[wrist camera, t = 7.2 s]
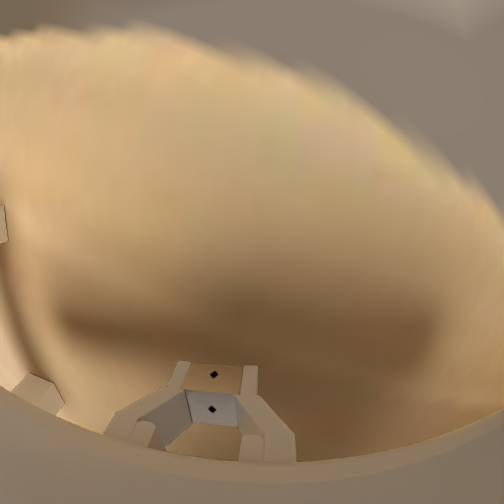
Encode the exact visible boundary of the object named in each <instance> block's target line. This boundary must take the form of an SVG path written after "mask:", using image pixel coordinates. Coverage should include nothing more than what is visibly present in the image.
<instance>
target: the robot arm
mask: <svg viewBox="0 0 504 504" xmlns="http://www.w3.org/2000/svg"><path fill="white" fill-rule="evenodd" d="M192 422H194V423H204V424H216V425H224V426H235V427H237V428H238V429H239V431H240V433H241V434H242V436H243V437H241V443H240V450H239V457H238V461H227V460H217V459H208V458H200V457H193V456H187V455H181V454H176V453H170V452H167V451H166V449H165V447H166V446H167V445H168V444H169V443H170V442H172V441H173V440H174V439H175V438H176V437H178V436H179V435H180V434H181V433H182V432H183V431H184V430H186V429H187V428H188V427H189V426H190V425H191V424H192ZM0 504H504V408H501V409H500V410H498V411H496V412H494V413H492V414H490V415H488V416H486V417H484V418H482V419H480V420H477V421H475V422H473V423H471V424H468V425H466V426H463V427H461V428H458V429H456V430H453V431H451V432H448V433H445V434H442V435H439V436H436V437H433V438H430V439H427V440H424V441H421V442H417V443H414V444H410V445H406V446H403V447H399V448H394V449H390V450H386V451H381V452H376V453H371V454H366V455H360V456H353V457H347V458H339V459H330V460H320V461H306V462H296V446H295V434H294V433H293V432H292V431H291V430H290V429H289V427H288V426H287V425H286V424H285V423H284V422H283V421H282V420H281V419H280V418H279V417H278V415H277V414H276V413H275V412H274V411H273V410H272V409H271V408H270V406H269V405H268V404H267V403H266V402H265V401H264V400H263V398H262V397H261V396H260V395H258V366H255V365H244V366H238V365H218V364H208V363H199V362H188V361H179V362H178V363H177V365H176V367H175V369H174V371H173V373H172V376H171V378H170V380H169V382H168V384H167V386H166V387H161V388H159V389H158V390H156V391H154V392H152V393H151V394H149V395H147V396H145V397H144V398H142V399H140V400H138V401H136V402H134V403H133V404H131V405H129V406H127V407H125V408H123V409H121V410H120V411H118V412H116V413H115V414H114V416H113V418H112V419H111V421H110V423H109V425H108V426H107V428H106V430H105V432H104V433H103V434H100V433H97V432H94V431H92V430H89V429H86V428H84V427H81V426H79V425H76V424H74V423H71V422H69V421H66V420H64V419H62V418H60V417H57V416H55V415H53V414H51V413H49V412H47V411H45V410H43V409H41V408H39V407H37V406H35V405H33V404H31V403H29V402H27V401H26V400H24V399H22V398H20V397H18V396H17V395H15V394H13V393H12V392H10V391H8V390H7V389H5V388H3V387H2V386H0Z"/></svg>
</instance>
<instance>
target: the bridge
mask: <svg viewBox="0 0 504 504" xmlns="http://www.w3.org/2000/svg"><path fill="white" fill-rule="evenodd" d="M6 241H8V236H7V229H6V221H5V211H4V206H0V244H1V243H3V242H6ZM11 392H12V393H13V394H15V395H17V396H18V397H20V398H22V399H24V400H26V401H27V402H29V403H31V404H33V405H35V406H37V407H39V408H41V409H43V410H45V411H47V412H49V413H51V414H53V415H56V414H57V413H58V411H59V410H60V409H61V407H62V406H63V405H64V402H63V400H62V398H61V396H60V394H59V392H58V390H57V388H56V386H55V384H54V383H52V382H49V381H47V380H44V379H42V378H40V377H37V376H35V375H33V374H31V373H28V374H27V375H26V376H25V378H24V379H23V380H22V381H21V382H20V383H19V384H18V385H17V386H16V387H15V388H14V389H13V390H12V391H11Z"/></svg>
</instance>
